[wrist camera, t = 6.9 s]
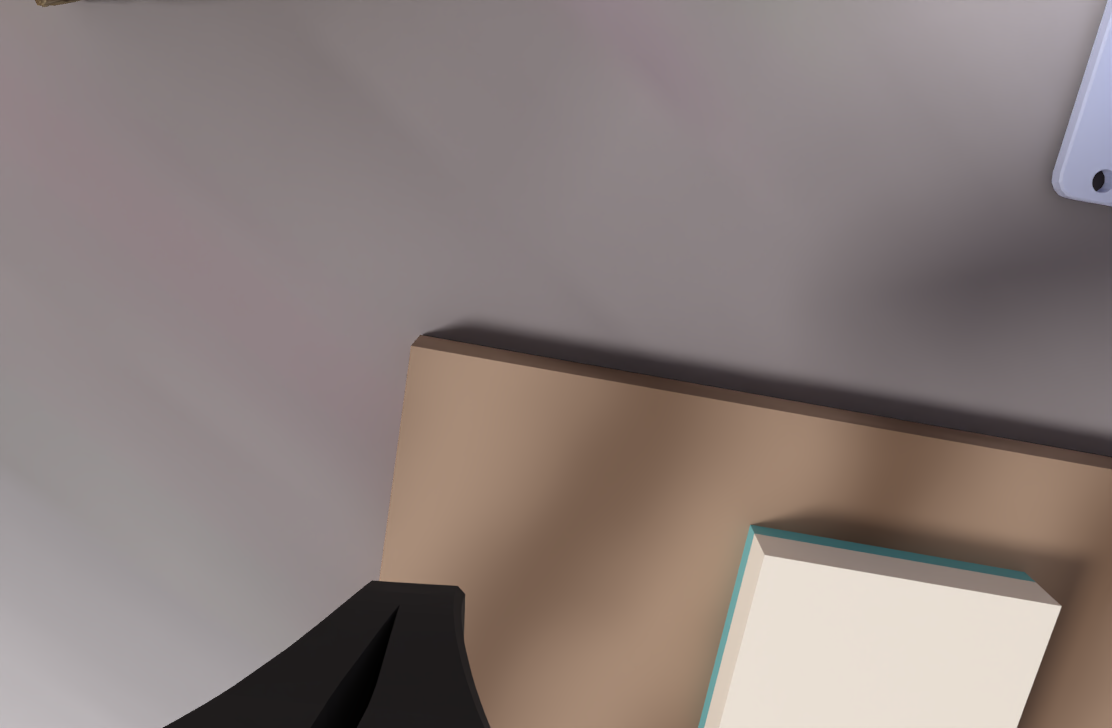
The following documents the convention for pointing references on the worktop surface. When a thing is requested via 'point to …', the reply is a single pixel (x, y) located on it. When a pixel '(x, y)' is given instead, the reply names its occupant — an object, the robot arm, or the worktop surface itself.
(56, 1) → the rock
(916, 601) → the tile
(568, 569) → the board
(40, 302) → the worktop surface
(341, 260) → the worktop surface
